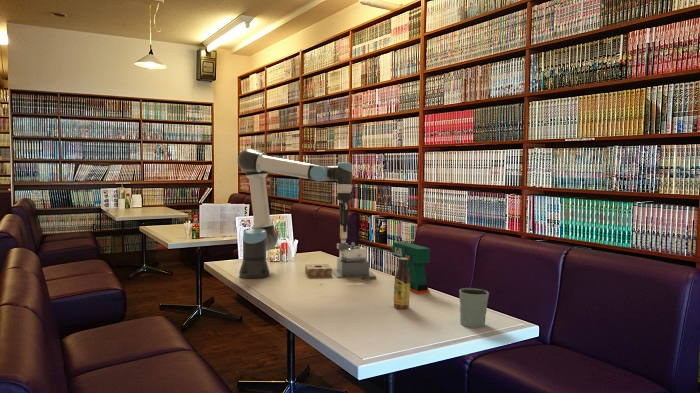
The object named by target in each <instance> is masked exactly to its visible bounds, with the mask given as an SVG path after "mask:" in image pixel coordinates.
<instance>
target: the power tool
mask: <svg viewBox="0 0 700 393" xmlns="http://www.w3.org/2000/svg"><path fill="white" fill-rule="evenodd" d="M392 243H393V244H392V245H389V247H390V248H391V250H392V256H393V257H396V258H398V259H399V258H408V259H409V262H408V272H409V274H410V292H412V293H413V294H417V295H421V294H429V293H430V289H429V284H428V283H427V278H426V277H427V276H426V269H425V264H430V263H431V248H430V247H426V246H421V245H418V244H414V243H411V242H407V241H397V242H396V241H393V242H392Z"/></svg>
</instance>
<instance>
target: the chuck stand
mask: <svg viewBox="0 0 700 393" xmlns="http://www.w3.org/2000/svg"><path fill="white" fill-rule="evenodd" d="M336 259H337V260H336V268H332V275H334V276H335V278H337V279H353V278H354V279H357V278H359V279H361V280H377V276H376V274H374V273H373V271H371V270H370V261H368V260H367V259H366V261H362V262H346V261H341V260H339V257H337V258H336Z"/></svg>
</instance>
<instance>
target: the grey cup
mask: <svg viewBox="0 0 700 393" xmlns="http://www.w3.org/2000/svg"><path fill="white" fill-rule="evenodd" d="M458 292H459V313H460V315H459V316H460V320H459V323H460V325H461V326H463V327H466V328H471V329H481V328H484V327H485V326H486V314H487V311H488V310H487V309H488V301H489V296H490V293H489V291H488V290H486V289H481V288H475V287H474V288H473V287H465V288H464V287H463V288H460V289H459V290H458Z"/></svg>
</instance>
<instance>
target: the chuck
mask: <svg viewBox="0 0 700 393" xmlns="http://www.w3.org/2000/svg"><path fill="white" fill-rule="evenodd" d="M336 249H337V250H339V254H338V255H339V257H338V258H339V260H341V261H346V262H362V261H366V260H367V254H368V253H367V248H366V247H363V246H360V245H356V243H355V242H351V245H349V243H347V242H346V244H341V242H339V243H338V242H337V243H336Z"/></svg>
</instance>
